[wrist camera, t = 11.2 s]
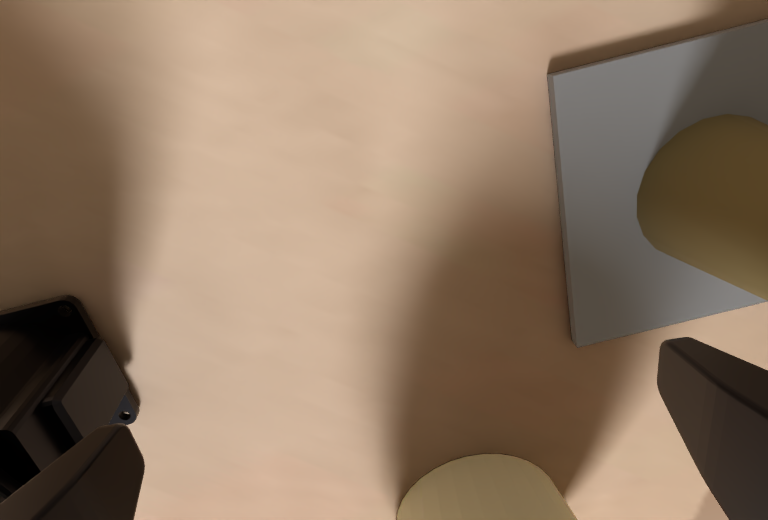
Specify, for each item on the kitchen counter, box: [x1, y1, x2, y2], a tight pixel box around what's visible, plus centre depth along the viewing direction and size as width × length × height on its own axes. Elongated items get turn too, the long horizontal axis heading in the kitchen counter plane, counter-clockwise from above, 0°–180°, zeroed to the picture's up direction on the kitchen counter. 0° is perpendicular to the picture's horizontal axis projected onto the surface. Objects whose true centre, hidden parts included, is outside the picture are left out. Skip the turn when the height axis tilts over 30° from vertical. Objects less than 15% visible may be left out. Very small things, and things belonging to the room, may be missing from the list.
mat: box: [547, 19, 768, 348], centre depth 22 cm, size 12×12×1 cm
